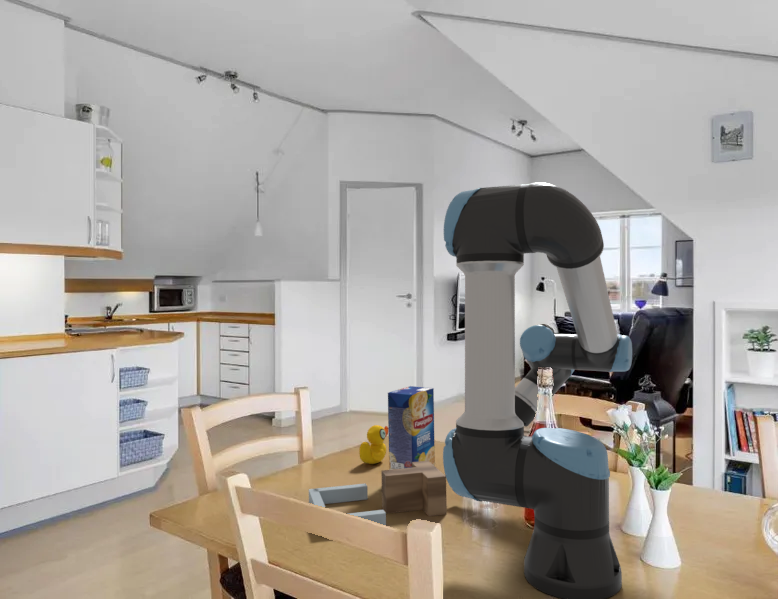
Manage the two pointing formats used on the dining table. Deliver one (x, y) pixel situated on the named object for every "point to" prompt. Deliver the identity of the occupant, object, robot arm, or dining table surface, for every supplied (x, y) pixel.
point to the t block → (414, 489)
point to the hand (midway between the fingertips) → (456, 483)
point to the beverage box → (411, 426)
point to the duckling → (374, 445)
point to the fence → (346, 499)
